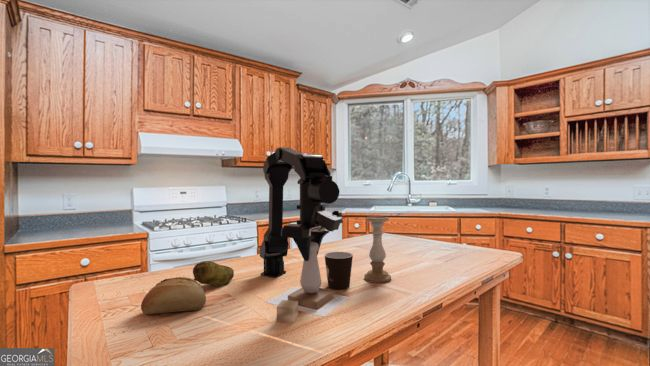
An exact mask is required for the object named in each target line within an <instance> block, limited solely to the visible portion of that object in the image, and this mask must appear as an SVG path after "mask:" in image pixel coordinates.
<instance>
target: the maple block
mask: <svg viewBox="0 0 650 366" xmlns="http://www.w3.org/2000/svg"><path fill="white" fill-rule="evenodd" d="M298 317H299V311H298V301H289V300H282V301H281V302H280V303H279V304H278V306H277V305H276V323H287V324H294V323H295V322H296V320H297V318H298Z"/></svg>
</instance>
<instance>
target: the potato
mask: <svg viewBox="0 0 650 366" xmlns="http://www.w3.org/2000/svg"><path fill="white" fill-rule="evenodd" d="M234 272H235V271H234V269H233V268H232V267H230V266H227V265H223V264H218V263H216V262H214V261H211V260H204V261H200V262H198V263H196V264H194V267H193V268H192V274H193V278H194V279H193V280H195V281H197V282H198V283H199V284H200V285H210V286H215V287H218V286H223V285H225V284H228V283H229V282H230V281H231V280H233V279H234V276H235V275H234V274H235V273H234Z"/></svg>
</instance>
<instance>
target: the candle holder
mask: <svg viewBox="0 0 650 366" xmlns="http://www.w3.org/2000/svg"><path fill="white" fill-rule="evenodd" d="M365 221H366V222H368V223H369V222H370V225H371V226H372V231H371V234H372V246H371V247H370V250H369V255H368V256H369V259H370V260H371V262H370V263H369V265H371V267H372V268H371V270H368V271H367V272H366V273H365V274H364V277H363V278H364V280H366V281H367V282H370V283H375V284H376V283H379V284H382V283H389V282H390V281H391V280H392V276H391V274H389V272H387V271H386V270H384V266H385V264H386V262H384V261H385V259H386V257H387V253H386V250H385V248H384V246H383V240H382V235H384V232H383V231H382V229H383V226H384V225H385V223H386V222H389V221H390V219H389V217H387V216H376V215H375V216H367V217H365Z"/></svg>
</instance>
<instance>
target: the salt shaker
mask: <svg viewBox="0 0 650 366" xmlns="http://www.w3.org/2000/svg"><path fill="white" fill-rule="evenodd" d="M318 250H320V248H319V246H318V243H316V242H310V252H309V260H308V261H304V260H303V262H302V269H301V274H300V280H299V283H300V287H301V288H303V290H304V292H305V293H315V292H318V289H319V288H321V285H322V281H323V280H322V277H321V271H320V266H319V260H318V255H317V251H318Z"/></svg>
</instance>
